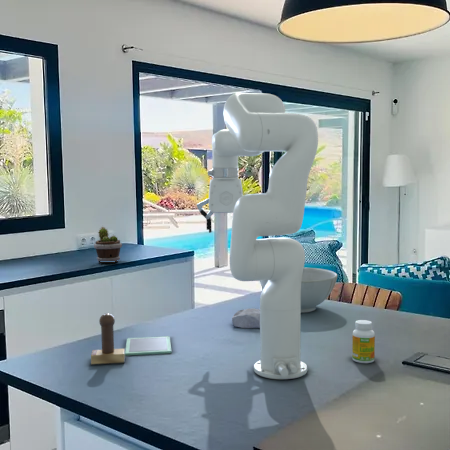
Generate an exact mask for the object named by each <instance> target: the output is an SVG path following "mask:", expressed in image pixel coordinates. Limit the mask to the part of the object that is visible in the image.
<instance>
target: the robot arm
mask: <svg viewBox="0 0 450 450" xmlns="http://www.w3.org/2000/svg"><path fill="white" fill-rule="evenodd" d="M282 100H283V99H281V98H280V97H279V96H277V95H275V94H271V93H263V92H257V93H256V92H235V93H233V94H231V95H230V96H228V98H226V101H225V102H224V105H223V121H224V124H225V126H226V128H227V129H219V130H218V131H217V132H215V133H213V134H212V137H211V149H212V150H211V153H212V169H210V170H207V176H211V177H212V178H211V179H210V180H209V187H208V198H206V199H204V200H203V201H200V202H199V203H197V204H196V208H197V209H198V211H199V213H200V215H202V217H204V218H205V221H206V222H205V223H206V231H208V233H212V232H213V231H212V217H213V215H214V214H232V220H231V221H232V222H231V234H230V235H231V236H230V248H229V269H230V273H231V275H232V277H233V278H234V279H235V280H237V281H240V282H260V280H268V282H267V284H266V285H265V287H264V289H263V288H262V291H261V293H260V298H259V309H260V328H259V350H260V351H259V356H260V357H259V360H257V361H256V362H255V363H254V364H253V371H254V373H255V374H256V375H257V376H260V377H262V378H266V379H271V380H292V379H297V378H301V377H304V376H305V375H306V374H307V373H308V365H307V364H306V363H305V362H303V361H301V359H302V356H301V355H302V353H301V351H302V350H301V349H302V339H301V338H302V336H301V335H302V334H301V333H302V331H301V330H302V329H301V326H302V325H301V324H302V323H301V320H302V319H301V282H302V274H303V269H304V268H305V261H306V252H305V248H304V247H303V245H302V243H301V242H299V240H296V239H294V238H290V237H276V236H287V235H293V234H296V233H298V232H299V230H301V228H302V224H303V220H304V215H305V206H306V198H307V190H308V180H309V176H310V172H311V169H312V167H313V164H314V161H315V158H316V155H317V151H318V146H319V132H318V127H317V124H316V123H315V121H314V120H313V118H311V117H309V116H308V115H305V114H300V113H295V112H294V113H293V112H286V107H285V104H284V102H283V101H282ZM264 152H285V153H284V154H283V155H282V156H280V157H279V159H277V161H276V162H275V164H274V165H273V167H272V168H271V170H270V172H269V176H268V177H269V178H268V189H267V191H266V192H265V193H249V194H248V193H247V194H244V192H243V191H244V189H243V184H242V179H241V178H239V157H257V156H259V155H261V154H263V153H264ZM207 204H208V210H209V211H207V212H206V211H205V210H204V208H203V207H204V206H207ZM272 236H273V237H272ZM260 237H267V238H260Z"/></svg>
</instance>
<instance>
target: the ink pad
mask: <svg viewBox="0 0 450 450" xmlns="http://www.w3.org/2000/svg"><path fill="white" fill-rule="evenodd" d="M164 354H172V346H171V337H170V335H166V336H165V335H164V336H163V335H162V336H146V337H144V336H143V337H127V338H126V344H125V357H126V356H128V357H129V356H144V355H164Z"/></svg>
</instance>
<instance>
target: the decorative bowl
mask: <svg viewBox="0 0 450 450" xmlns="http://www.w3.org/2000/svg"><path fill="white" fill-rule="evenodd" d="M337 279H338V274H337V273H336V271H335V272H334V271H332V270H329V269H324V268H317V267H304V269H303V274H302V282H301V313H303V314H304V313H311V312H314V311H315V310H316V309H317V306H319V305H321V304H322V303H324V301H325V300H327V299H328V298H329V296H331V293H332V292H333V290H334V288H335V285H336V283H337ZM267 282H268V280H259V283H260V285H261V288H262V290H263V289H264V287H265V285H266V284H267Z"/></svg>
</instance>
